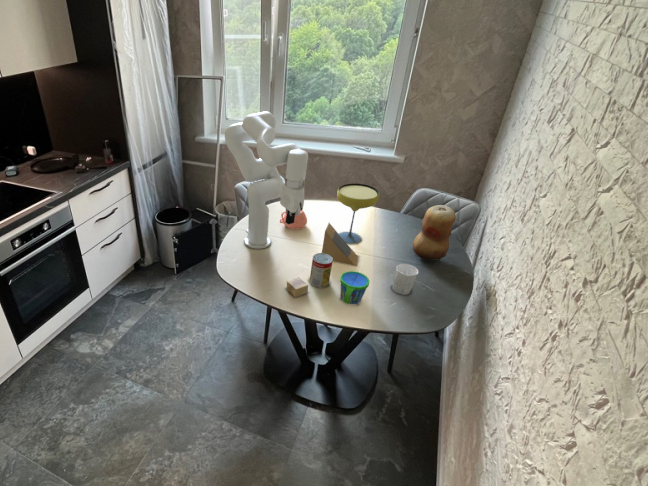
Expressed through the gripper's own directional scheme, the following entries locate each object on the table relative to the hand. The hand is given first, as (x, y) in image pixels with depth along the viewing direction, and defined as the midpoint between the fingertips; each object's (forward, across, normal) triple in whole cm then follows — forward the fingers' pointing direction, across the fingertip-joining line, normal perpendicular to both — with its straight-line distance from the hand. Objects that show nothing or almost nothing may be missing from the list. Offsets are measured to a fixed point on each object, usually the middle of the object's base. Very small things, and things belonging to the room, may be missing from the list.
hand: (289, 222), depth 166 cm
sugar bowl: (+23, -28, +25) cm, 44 cm away
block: (+22, +18, -6) cm, 29 cm away
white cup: (+21, +36, +31) cm, 52 cm away
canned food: (+22, +17, +6) cm, 28 cm away
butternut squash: (+21, +25, +59) cm, 67 cm away
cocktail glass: (+22, -5, +41) cm, 47 cm away
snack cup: (+21, +32, +9) cm, 39 cm away
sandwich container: (+22, +7, +26) cm, 34 cm away
